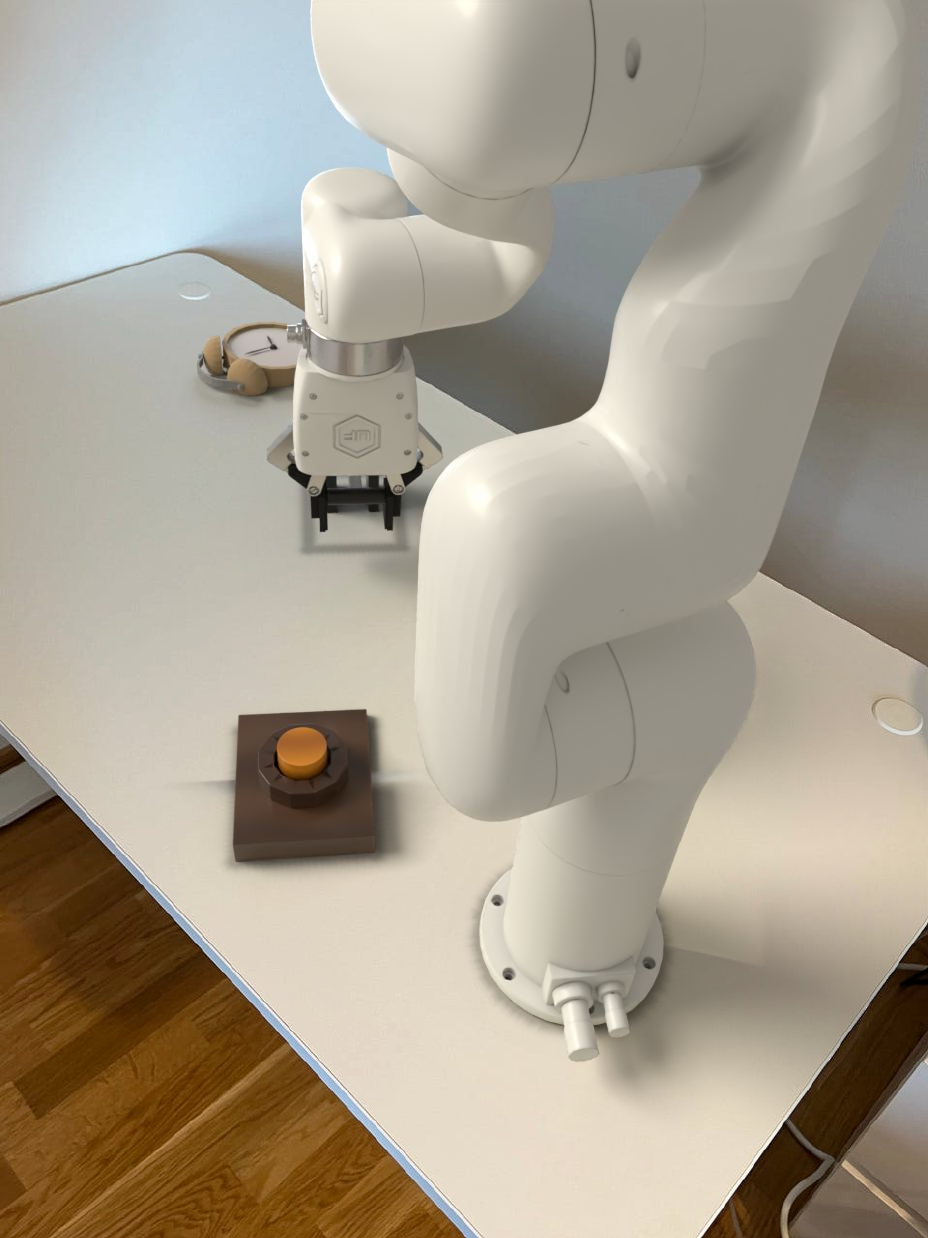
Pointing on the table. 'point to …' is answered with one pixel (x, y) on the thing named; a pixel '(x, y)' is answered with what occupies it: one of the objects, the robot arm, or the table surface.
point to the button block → (303, 789)
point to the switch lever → (355, 494)
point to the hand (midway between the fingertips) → (355, 519)
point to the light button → (302, 753)
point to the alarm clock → (251, 358)
